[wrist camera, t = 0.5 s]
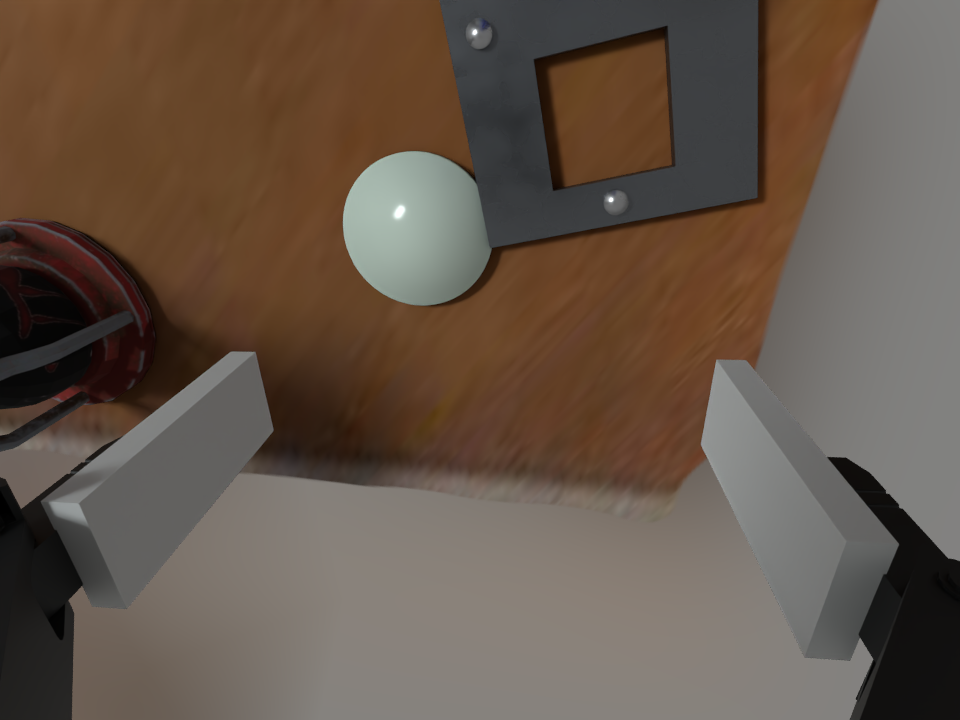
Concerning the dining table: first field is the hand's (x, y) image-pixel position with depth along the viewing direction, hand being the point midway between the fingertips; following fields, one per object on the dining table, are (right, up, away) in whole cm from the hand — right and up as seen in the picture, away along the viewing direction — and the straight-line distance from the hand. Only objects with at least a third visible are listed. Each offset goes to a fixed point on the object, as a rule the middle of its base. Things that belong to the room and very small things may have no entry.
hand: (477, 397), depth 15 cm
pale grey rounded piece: (-4, +11, +23) cm, 26 cm away
